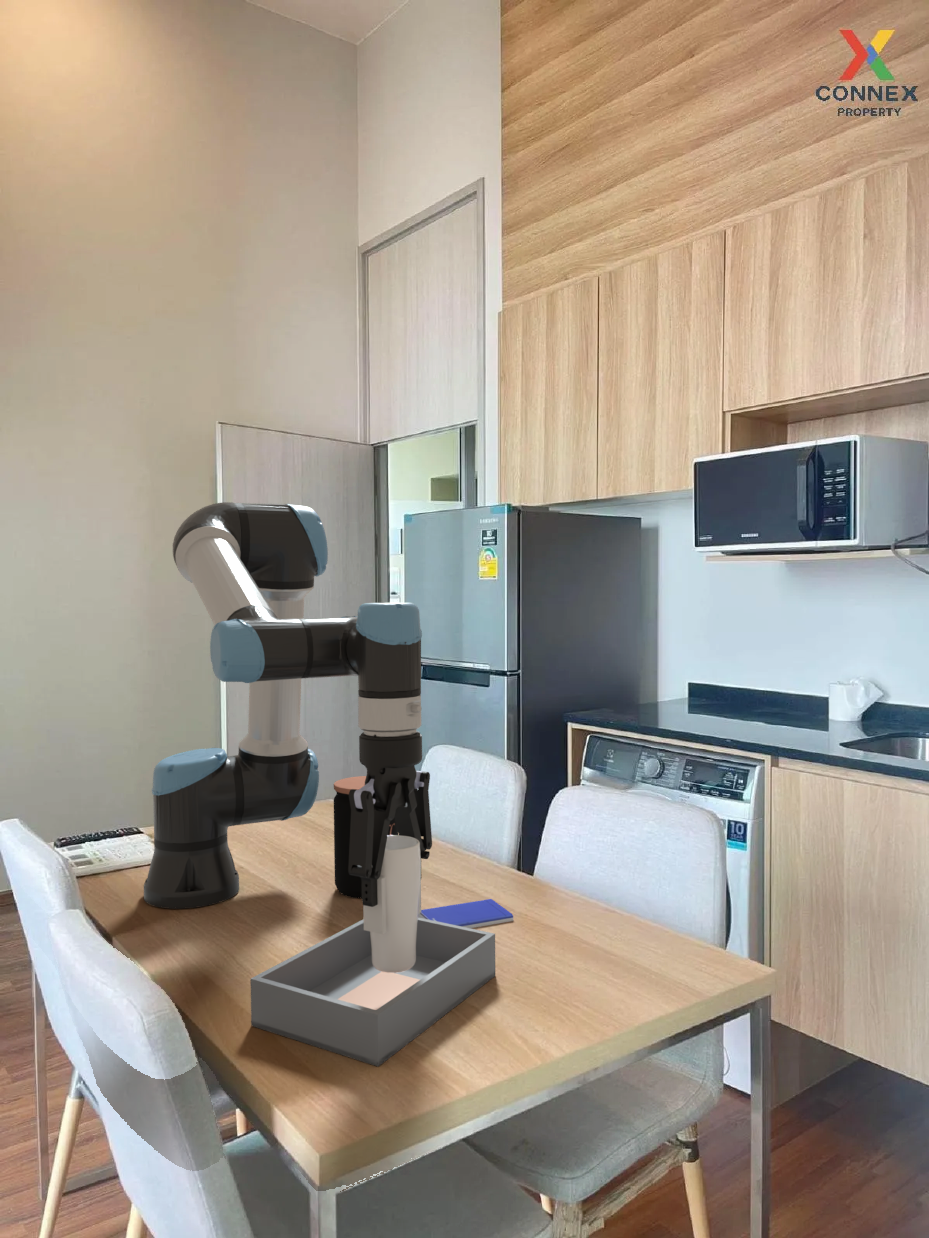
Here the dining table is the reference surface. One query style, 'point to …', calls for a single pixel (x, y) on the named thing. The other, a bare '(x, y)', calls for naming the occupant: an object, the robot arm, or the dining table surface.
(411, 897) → the drinking glass
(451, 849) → the dining table surface
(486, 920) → the hard drive
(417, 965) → the walled box
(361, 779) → the coffee jar
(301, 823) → the dining table surface
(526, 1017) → the dining table surface
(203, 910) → the dining table surface
